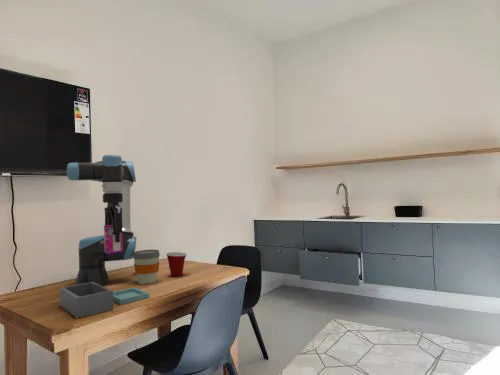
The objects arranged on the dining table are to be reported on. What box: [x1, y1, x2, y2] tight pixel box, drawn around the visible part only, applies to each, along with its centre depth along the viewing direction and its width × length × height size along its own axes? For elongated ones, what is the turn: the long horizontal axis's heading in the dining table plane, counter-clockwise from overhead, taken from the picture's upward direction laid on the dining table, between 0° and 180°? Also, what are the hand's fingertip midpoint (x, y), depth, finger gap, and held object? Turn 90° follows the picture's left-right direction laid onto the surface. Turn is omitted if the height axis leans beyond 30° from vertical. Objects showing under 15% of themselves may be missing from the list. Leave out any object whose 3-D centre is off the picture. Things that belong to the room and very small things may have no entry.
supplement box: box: [103, 224, 123, 255], centre depth 137 cm, size 6×6×12 cm
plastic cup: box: [165, 251, 187, 278], centre depth 179 cm, size 11×11×12 cm
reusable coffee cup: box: [132, 249, 161, 285], centre depth 168 cm, size 12×13×15 cm
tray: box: [113, 287, 150, 306], centre depth 140 cm, size 14×12×2 cm
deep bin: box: [59, 282, 114, 319], centre depth 129 cm, size 21×12×7 cm, turn 43°
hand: (113, 249), depth 137 cm, fingers closed on supplement box, 6 cm apart
